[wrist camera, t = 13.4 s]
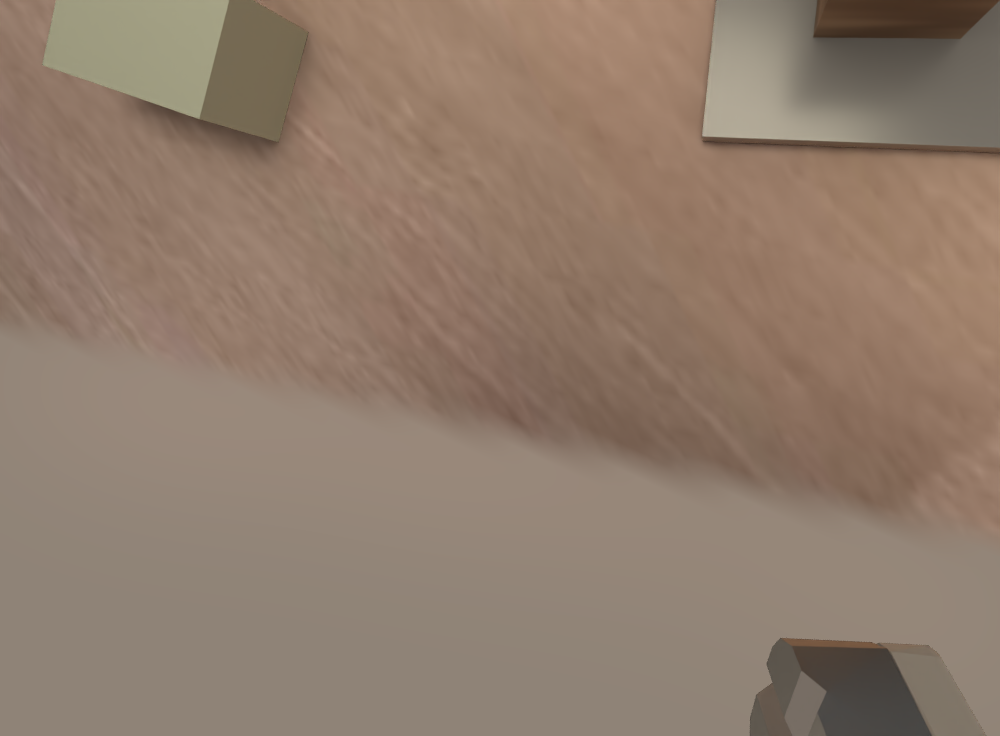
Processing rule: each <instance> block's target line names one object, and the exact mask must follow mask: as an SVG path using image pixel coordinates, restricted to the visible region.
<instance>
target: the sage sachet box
mask: <svg viewBox="0 0 1000 736" xmlns="http://www.w3.org/2000/svg"><path fill="white" fill-rule="evenodd" d="M307 36H308V32H307V31H305V30H304V29H302V28H300V27H298V26H297V25H295V24H293V23H292V22H290V21H288V20H286V19H285V18H283V17H281V16H280V15H278V14H276V13H274V12H273V11H271V10H269V9H267V8H266V7H264V6H262V5H261V4H259V3H257V2H255V1H254V0H56V3H55V8H54V12H53V17H52V22H51V26H50V31H49V36H48V40H47V45H46V50H45V54H44V59H43V64H42V65H43V66H46V67H49V68H52V69H55V70H58V71H61V72H64V73H67V74H70V75H72V76H75V77H78V78H81V79H84V80H87V81H90V82H93V83H96V84H99V85H101V86H104V87H107V88H110V89H113V90H116V91H119V92H122V93H125V94H128V95H131V96H133V97H136V98H139V99H142V100H145V101H148V102H151V103H154V104H157V105H160V106H162V107H165V108H168V109H171V110H174V111H177V112H180V113H183V114H186V115H189V116H191V117H194V118H197V119H200V120H204V121H207V122H211V123H214V124H217V125H221V126H224V127H228V128H231V129H235V130H238V131H241V132H245V133H248V134H252V135H255V136H259V137H262V138H265V139H269V140H272V141H276V142H279V139H280V135H281V131H282V128H283V124H284V120H285V117H286V113H287V109H288V106H289V102H290V98H291V95H292V91H293V87H294V84H295V80H296V76H297V73H298V69H299V65H300V62H301V58H302V54H303V51H304V47H305V43H306V40H307Z"/></svg>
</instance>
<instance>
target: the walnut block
mask: <svg viewBox="0 0 1000 736" xmlns="http://www.w3.org/2000/svg"><path fill="white" fill-rule="evenodd" d="M999 1H1000V0H817V8H816V16H815V25H814V34H813V37H816V38H928V39H961V38H962V37H963V36H964V35H965V34H966V33H967V32H968V31H969V30H970V29H971V28H972V27H973V26H974V25H975V24H976V23H977V22H978V21H979V20H980V19H981V18H982V17H983V16H984V15H985V14H986V13H987V12H988V11H989V10H990V9H991V8H993V7H994V6H995V5H996V4H997V3H998V2H999Z"/></svg>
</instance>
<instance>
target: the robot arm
mask: <svg viewBox="0 0 1000 736" xmlns="http://www.w3.org/2000/svg"><path fill="white" fill-rule="evenodd" d="M767 667H768V670H769V673H770V676H771V679H772V682H773V683H772V684H770V685H769V686H767V687H766V688H765V689H763V690H762V691H761V692H759V693H758V694H757V695H756V699H755V702H754V706H753V710H752V713H751V717H750V736H986V735H985V733H984V731H983V729H982V728H981V726H980V724H979V723H978V721H977V719H976V718H975V716H974V714H973V712H972V711H971V709H970V707H969V705H968V704H967V702H966V700H965V698H964V697H963V695H962V693H961V691H960V690H959V688H958V686H957V685H956V683H955V681H954V679H953V678H952V676H951V674H950V672H949V671H948V669H947V668H946V666H945V664H944V662H943V660H942V659H941V657H940V655H939V654H938V653H937V652H936V651H934V650H933V649H932V648H931V647H930V646H928V645H911V644H890V643H877V644H875V643H872V642H853V641H832V640H811V639H789V638H780V639H779V640H778V641H777V642H776V643H775V645H774V646H773V647H772V650H771V653H770V656H769V659H768V661H767Z"/></svg>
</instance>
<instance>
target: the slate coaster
mask: <svg viewBox="0 0 1000 736" xmlns="http://www.w3.org/2000/svg"><path fill="white" fill-rule="evenodd" d="M816 8H817V0H716V6H715V16H714V25H713V35H712V45H711V55H710V65H709V74H708V84H707V94H706V104H705V113H704V123H703V133H702V139H703V141H710V142H735V143H761V144H787V145H812V146H838V147H864V148H889V149H915V150H940V151H966V152H992V153H1000V1H999V2H998V3H997V4H996V5H995V6H994V7H993V8H991V9H990V10H989V11H988V12H987V13H986V14H985V15H984V16H983V17H982V18H981V19H980V20H979V21H978V22H977V23H976V24H975V25H974V26H973V27H972V28H971V29H970V30H969V31H968V32H967V33H966V34H965V35H964V36H963V37H962V38H961V39H928V38H816V37H813V34H814V25H815V16H816Z"/></svg>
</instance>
